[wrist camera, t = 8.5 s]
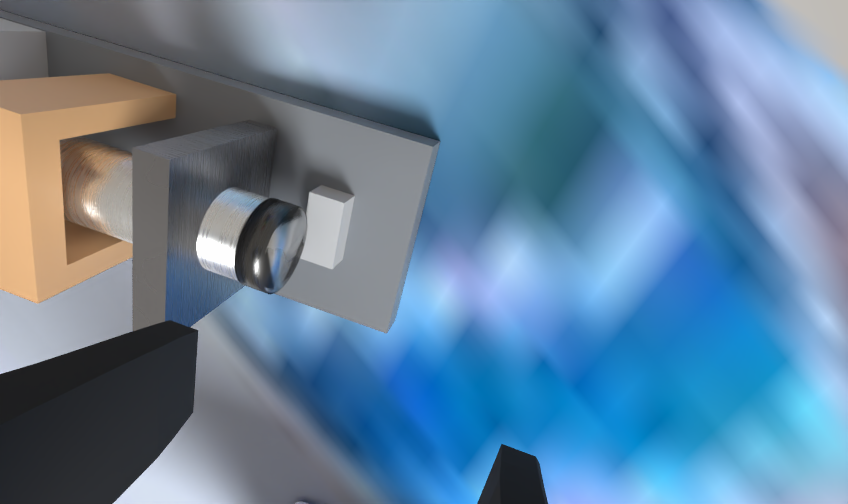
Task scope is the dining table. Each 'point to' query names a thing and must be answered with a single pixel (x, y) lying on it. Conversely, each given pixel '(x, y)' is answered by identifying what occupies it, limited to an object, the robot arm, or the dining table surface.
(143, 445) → the robot arm
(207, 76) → the rail
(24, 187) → the block
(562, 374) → the dining table surface
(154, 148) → the shaft
